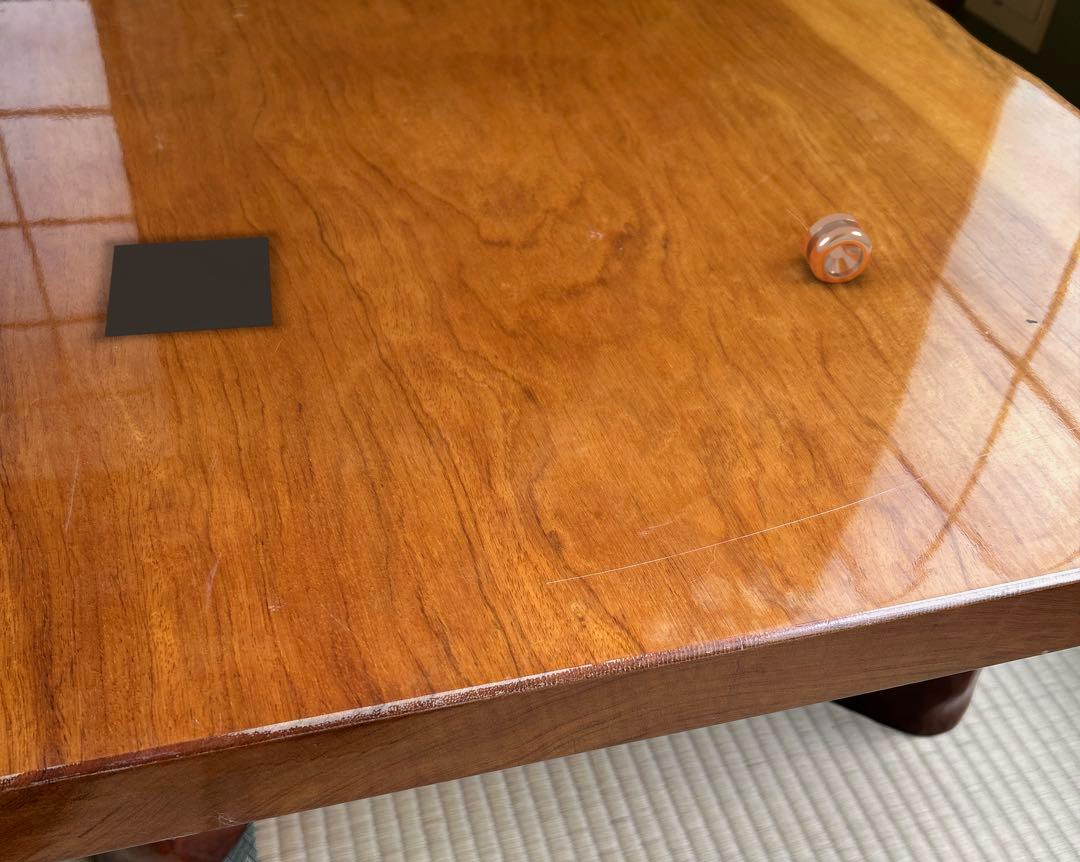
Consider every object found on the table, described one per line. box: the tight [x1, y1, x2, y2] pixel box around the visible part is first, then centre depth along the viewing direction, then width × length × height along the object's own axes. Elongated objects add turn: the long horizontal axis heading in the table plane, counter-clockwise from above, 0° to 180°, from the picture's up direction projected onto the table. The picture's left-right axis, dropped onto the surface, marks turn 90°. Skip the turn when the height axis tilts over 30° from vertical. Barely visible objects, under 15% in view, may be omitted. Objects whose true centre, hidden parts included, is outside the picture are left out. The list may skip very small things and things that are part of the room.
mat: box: [104, 236, 274, 338], centre depth 90 cm, size 12×12×1 cm
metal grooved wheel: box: [801, 212, 873, 284], centre depth 94 cm, size 5×3×5 cm, turn 98°
